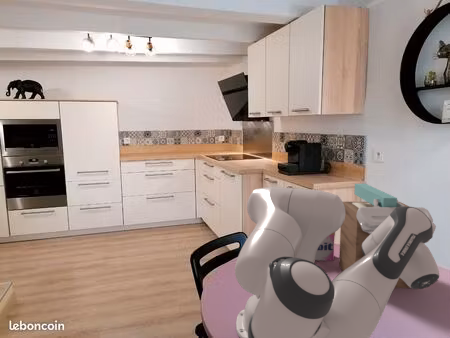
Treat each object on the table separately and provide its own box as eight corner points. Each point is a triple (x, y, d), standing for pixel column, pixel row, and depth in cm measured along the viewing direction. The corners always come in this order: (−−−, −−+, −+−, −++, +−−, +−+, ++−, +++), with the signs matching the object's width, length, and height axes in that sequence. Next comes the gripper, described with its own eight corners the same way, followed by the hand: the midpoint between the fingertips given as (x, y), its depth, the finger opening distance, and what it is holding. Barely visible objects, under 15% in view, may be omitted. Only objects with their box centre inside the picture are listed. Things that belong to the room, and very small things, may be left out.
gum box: (331, 253, 148) (332, 223, 146) (337, 261, 140) (338, 229, 138) (276, 253, 149) (276, 223, 147) (278, 260, 141) (279, 228, 139)
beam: (382, 211, 103) (383, 198, 103) (354, 194, 129) (354, 183, 129) (396, 211, 103) (397, 198, 103) (365, 194, 129) (365, 183, 128)
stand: (354, 287, 117) (357, 212, 114) (339, 265, 135) (341, 200, 132) (419, 288, 116) (424, 213, 113) (395, 266, 134) (399, 201, 131)
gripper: (361, 241, 98) (349, 207, 109) (434, 241, 97) (414, 207, 108) (366, 225, 94) (353, 192, 105) (442, 226, 93) (420, 193, 104)
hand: (384, 200), depth 107 cm, fingers closed on beam, 4 cm apart
